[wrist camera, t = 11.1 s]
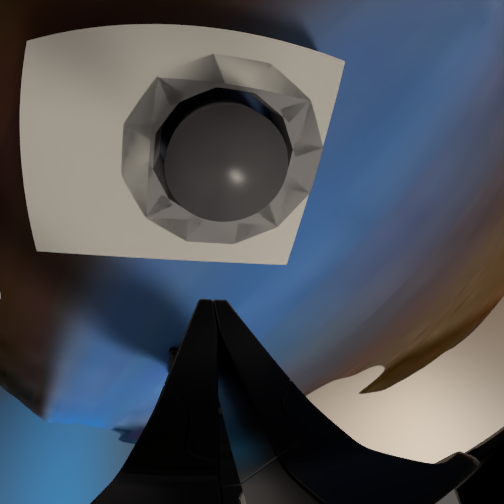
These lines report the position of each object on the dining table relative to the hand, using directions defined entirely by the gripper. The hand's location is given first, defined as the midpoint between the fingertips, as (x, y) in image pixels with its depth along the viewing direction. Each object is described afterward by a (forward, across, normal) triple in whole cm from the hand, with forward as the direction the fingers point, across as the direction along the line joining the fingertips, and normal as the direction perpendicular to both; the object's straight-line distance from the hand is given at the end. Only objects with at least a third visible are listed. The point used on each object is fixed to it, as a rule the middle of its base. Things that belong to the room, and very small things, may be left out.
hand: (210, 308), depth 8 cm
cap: (+12, -1, -2) cm, 12 cm away
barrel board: (+12, +3, -2) cm, 12 cm away
